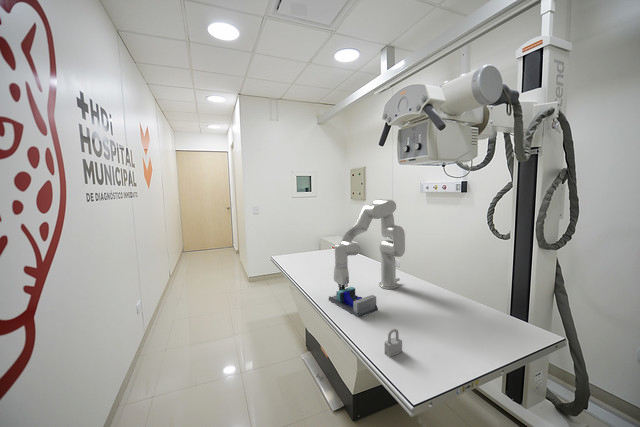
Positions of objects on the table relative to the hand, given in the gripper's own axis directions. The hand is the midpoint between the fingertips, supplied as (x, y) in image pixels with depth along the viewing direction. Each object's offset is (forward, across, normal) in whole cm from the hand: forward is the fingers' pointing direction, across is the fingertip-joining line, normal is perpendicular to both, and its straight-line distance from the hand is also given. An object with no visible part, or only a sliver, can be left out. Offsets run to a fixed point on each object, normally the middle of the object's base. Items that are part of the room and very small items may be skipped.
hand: (342, 293), depth 159 cm
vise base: (+4, +9, 0) cm, 10 cm away
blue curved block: (+2, +12, 0) cm, 12 cm away
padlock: (+4, +53, -13) cm, 55 cm away
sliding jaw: (+2, +4, 0) cm, 4 cm away
